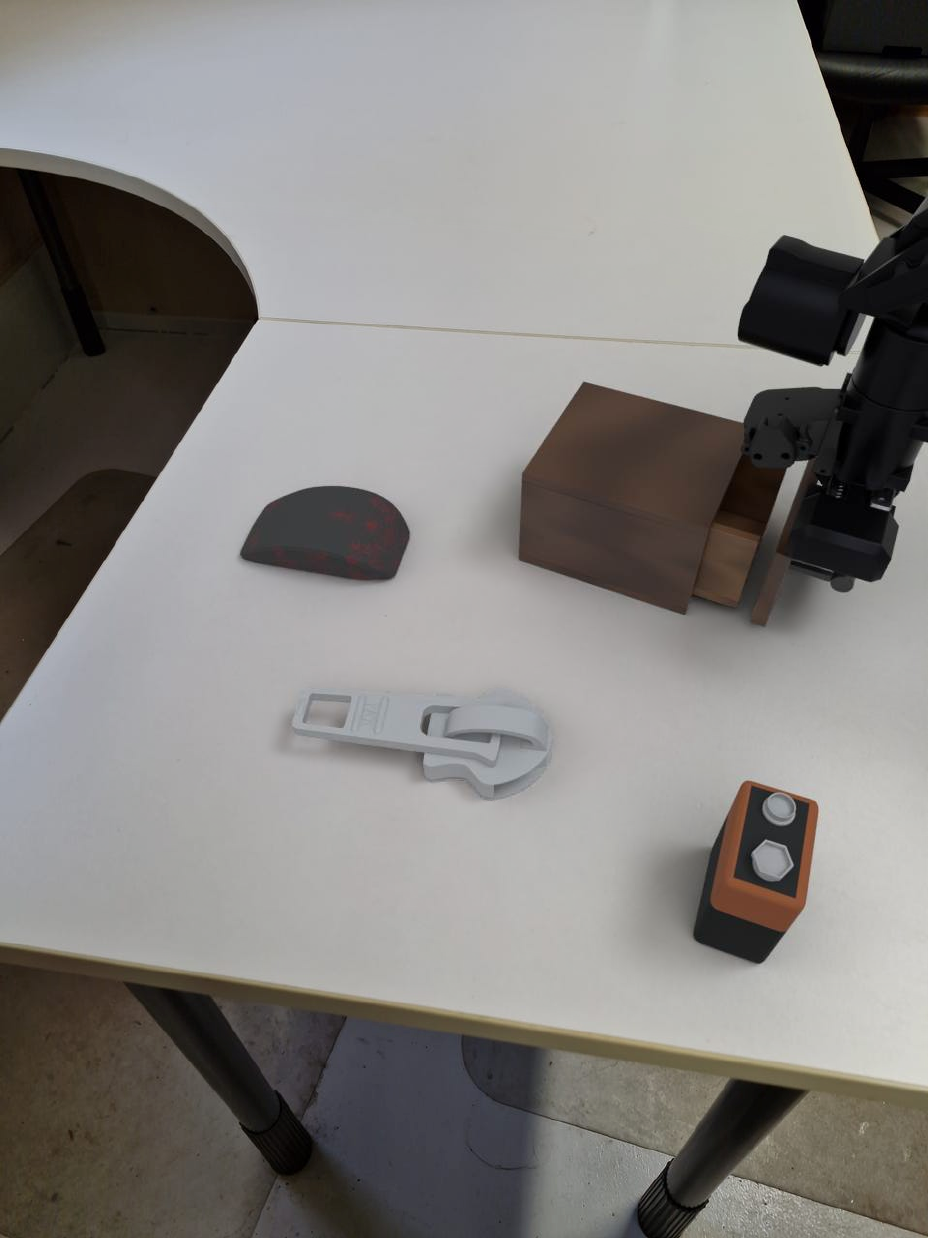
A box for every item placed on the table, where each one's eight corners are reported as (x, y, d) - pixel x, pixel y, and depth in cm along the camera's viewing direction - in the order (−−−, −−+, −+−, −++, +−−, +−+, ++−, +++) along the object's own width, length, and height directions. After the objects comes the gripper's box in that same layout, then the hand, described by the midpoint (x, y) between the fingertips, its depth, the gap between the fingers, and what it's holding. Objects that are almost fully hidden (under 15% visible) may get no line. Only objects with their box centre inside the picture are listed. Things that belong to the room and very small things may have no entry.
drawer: (856, 547, 72) (889, 475, 66) (827, 648, 65) (862, 579, 59) (646, 486, 77) (659, 414, 71) (600, 573, 70) (611, 503, 64)
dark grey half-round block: (389, 591, 71) (385, 558, 68) (236, 566, 73) (225, 533, 70) (415, 525, 76) (412, 491, 73) (270, 503, 78) (261, 469, 75)
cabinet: (728, 513, 76) (754, 425, 69) (685, 615, 69) (709, 529, 61) (574, 468, 80) (583, 380, 73) (518, 559, 73) (521, 473, 65)
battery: (690, 942, 52) (725, 875, 44) (711, 844, 56) (747, 767, 48) (763, 969, 51) (811, 904, 43) (779, 867, 55) (827, 791, 47)
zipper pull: (316, 686, 65) (307, 652, 62) (554, 710, 63) (558, 675, 60) (289, 778, 60) (278, 746, 57) (547, 806, 58) (550, 775, 55)
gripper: (801, 287, 62) (750, 456, 74) (735, 435, 51) (688, 604, 63) (966, 321, 59) (884, 492, 71) (931, 487, 48) (842, 655, 60)
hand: (824, 555), depth 66 cm, fingers closed, pressing on drawer
